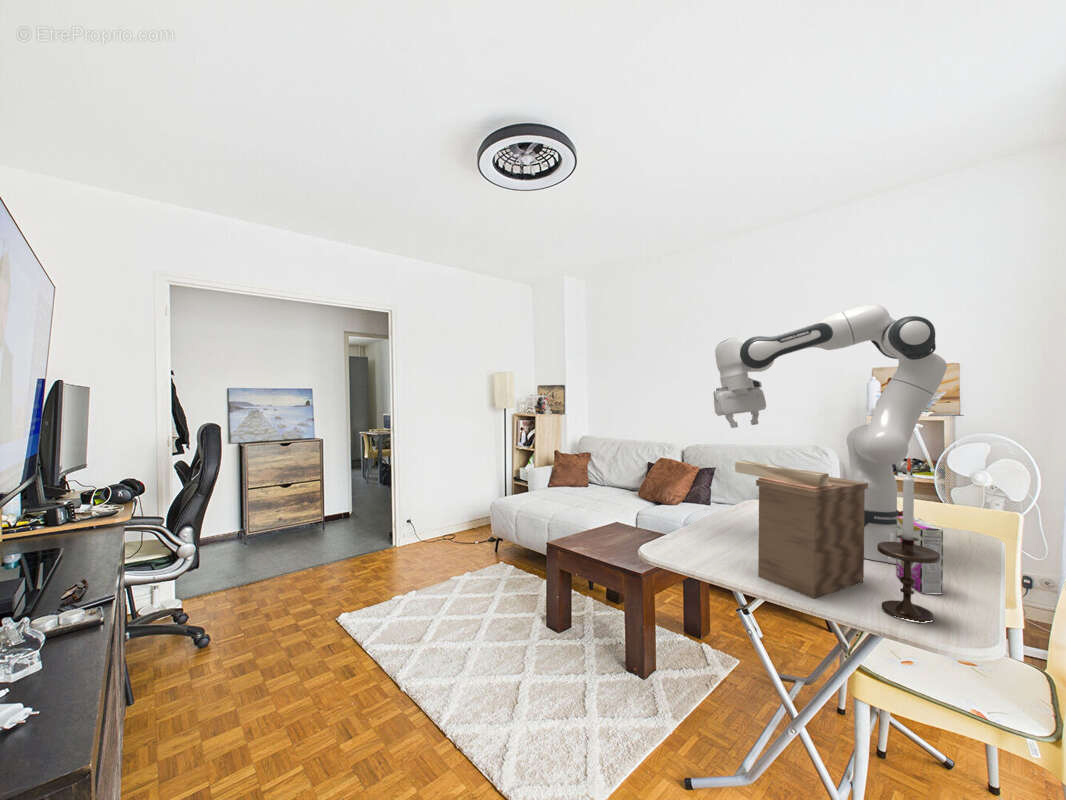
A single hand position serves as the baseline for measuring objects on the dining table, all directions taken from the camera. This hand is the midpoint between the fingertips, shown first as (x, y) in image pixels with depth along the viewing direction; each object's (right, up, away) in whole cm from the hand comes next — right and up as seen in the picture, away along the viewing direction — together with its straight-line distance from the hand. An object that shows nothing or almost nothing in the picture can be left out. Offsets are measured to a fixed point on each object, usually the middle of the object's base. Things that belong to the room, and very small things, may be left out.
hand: (744, 426), depth 156 cm
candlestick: (+12, -39, -52) cm, 66 cm away
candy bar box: (+27, -39, -37) cm, 60 cm away
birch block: (-6, -12, -32) cm, 34 cm away
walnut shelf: (+2, -39, -33) cm, 51 cm away
